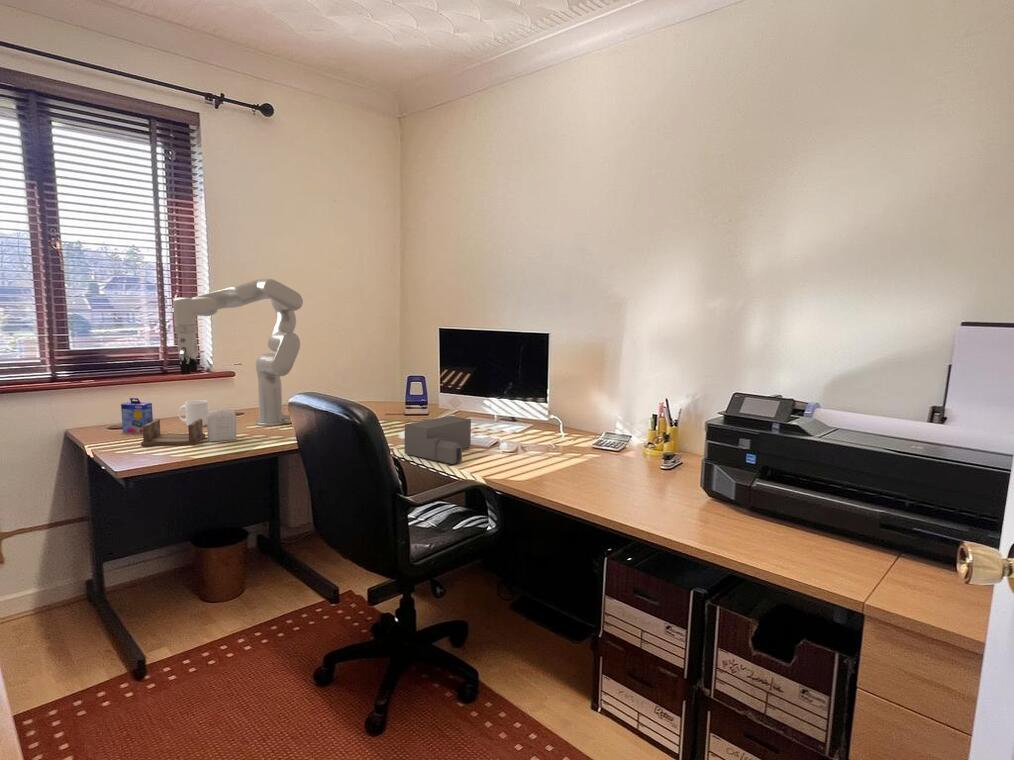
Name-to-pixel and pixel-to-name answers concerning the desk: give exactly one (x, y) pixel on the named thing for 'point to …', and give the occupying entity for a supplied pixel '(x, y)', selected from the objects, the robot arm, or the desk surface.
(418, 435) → the grey stepped block
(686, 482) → the desk surface
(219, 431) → the photo printer
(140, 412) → the ink cartridge box
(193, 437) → the walnut rack
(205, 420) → the mug
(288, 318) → the robot arm
